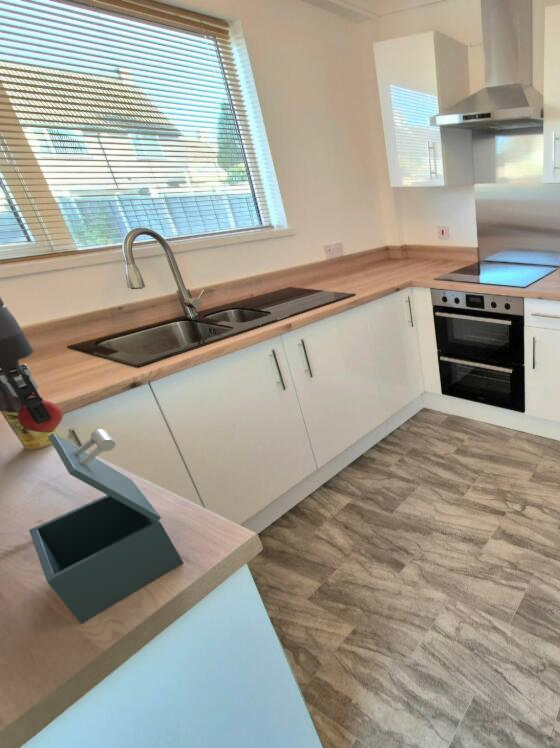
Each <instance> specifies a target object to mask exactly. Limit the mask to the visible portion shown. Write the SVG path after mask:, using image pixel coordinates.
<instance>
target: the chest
mask: <svg viewBox="0 0 560 748" xmlns="http://www.w3.org/2000/svg"><path fill="white" fill-rule="evenodd" d="M28 531H29V533H30V536H31V537H30V538H31V540H32V542H33V545H34V548H35V551H36V554H37V557H38V560H39V563H40V566H41V568H42V571H43V574H44V577H45V580H46V582H47V584H48V585H49V586H50V587H51V589H52V590H53V591H54V592H55V593H56V595H57V596H58V598H59V599H60V600H61V601H62V602H63V604H64V605H65V606H66V607H67V609H68V610H69V611H70V612H71V614H72V615H73V616H74V618H76V620H77V621H78V623H80V625H82V624H84V623H86V622H88V621H89V620H90V619H92V618H94V617H96V616H97V615H99V614H101V613H102V612H104V611H106V610H108V609H109V608H111V607H112V606H114V605H116V604H117V603H119V602H121V601H123V600H124V599H126V598H128V597H129V596H131V595H132V594H133V595H134V593H136V592H138V591H139V590H141V589H143V588H144V587H146V586H148V585H149V584H151V583H152V582H154V581H156V580H158V579H159V578H161V577H163V576H164V575H166V574H168V573H169V572H171V571H173V570H174V569H176V568H178V567H179V566H181V565H183V564H184V561H183V559H182V557H181V555H180V554H179V552H178V550H177V549H176V547H175V545H174V544H173V542H172V539H171V538H170V536H169V534H168V533H167V531H166V530H165V528H164V526H163V524H162V523H161V521H160V520H159V521H157V522H155V521H154V520H152V519H150V518H148V517H146V516H145V515H143V514H141V513H139V512H137V511H135V510H134V509H132V508H130V507H128V506H126V505H125V504H123V503H121V502H119V501H117V500H116V499H114V498H112V497H110V496H108V495H106V494H105V495H103V496H101V497H99V498H97V499H95V500H92V501H90V502H88V503H86V504H83V505H81V506H79V507H77V508H75V509H73V510H71V511H67V512H66V513H64V514H61V515H59V516H56V517H55V518H52V519H50V520H48V521H46V522H44V523H41V524H39V525H37V526H35V527H33V528H30V529H29V530H28Z"/></svg>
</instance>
